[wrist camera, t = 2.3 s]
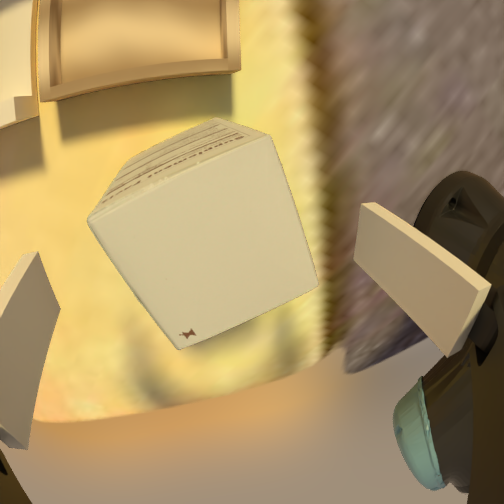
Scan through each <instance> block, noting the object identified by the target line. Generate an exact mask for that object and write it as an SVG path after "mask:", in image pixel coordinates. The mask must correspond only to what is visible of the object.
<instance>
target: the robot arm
mask: <svg viewBox="0 0 504 504" xmlns="http://www.w3.org/2000/svg"><path fill="white" fill-rule="evenodd" d="M353 260H354V261H355V262H356V263H357V264H358V265H359V266H360V267H361V268H362V269H363V270H364V271H365V272H366V273H367V274H368V275H369V276H370V277H371V278H372V279H373V280H374V281H375V282H376V283H377V284H378V285H379V286H380V287H381V288H382V289H383V290H384V291H385V292H386V293H387V294H388V295H389V296H390V297H391V298H392V299H393V300H394V301H395V302H396V303H397V304H398V305H399V306H400V307H401V308H402V309H403V310H404V311H405V312H406V313H407V314H408V316H409V317H410V318H411V319H412V320H413V321H414V322H415V323H416V324H417V325H418V326H419V327H420V328H421V329H422V330H423V332H424V333H425V334H426V335H427V336H428V337H429V338H430V339H431V340H432V341H433V342H434V343H435V344H436V346H437V347H438V348H439V349H440V350H441V351H442V352H443V354H444V356H443V357H442V358H441V359H440V360H439V361H438V363H437V364H436V365H435V366H434V367H433V368H432V369H431V370H430V371H429V372H428V373H427V374H426V375H425V376H424V377H423V376H421V377H420V378H419V379H418V382H417V383H416V384H415V385H414V387H413V388H412V389H411V390H410V391H409V392H408V393H407V394H406V395H405V396H404V397H403V398H402V399H401V400H400V401H399V402H398V403H397V405H396V407H395V410H394V413H393V427H394V432H395V436H396V439H397V443H398V446H399V448H400V451H401V453H402V456H403V458H404V460H405V462H406V463H407V465H408V467H409V469H410V470H411V472H412V473H413V475H414V476H415V478H416V479H417V480H418V481H419V482H420V483H421V484H422V485H423V486H424V487H425V488H427V489H430V490H433V491H435V490H439V489H441V488H444V487H445V486H446V485H447V484H448V483H452V484H453V485H454V486H455V487H456V488H457V490H458V491H460V492H461V493H462V494H465V495H468V501H467V504H504V198H503V196H502V195H501V194H500V193H499V192H498V191H497V190H496V189H495V188H494V187H493V186H492V185H491V184H490V183H489V182H488V181H487V180H485V179H484V178H482V177H480V176H478V175H476V174H473V173H471V172H468V171H458V172H455V173H453V174H451V175H449V176H448V177H446V178H445V179H444V180H442V181H441V182H440V183H439V184H438V185H437V186H436V188H435V189H434V190H433V191H432V193H431V194H430V195H429V197H428V198H427V200H426V202H425V203H424V205H423V207H422V209H421V211H420V213H419V216H418V218H417V221H416V224H415V227H413V226H411V225H410V224H408V223H407V222H405V221H403V220H402V219H400V218H399V217H397V216H396V215H394V214H393V213H391V212H390V211H388V210H386V209H385V208H383V207H382V206H380V205H378V204H377V203H375V202H373V203H363V204H361V207H360V215H359V223H358V231H357V238H356V245H355V252H354V258H353ZM59 312H60V306H59V304H58V302H57V299H56V297H55V295H54V292H53V290H52V287H51V285H50V282H49V280H48V277H47V275H46V272H45V269H44V267H43V264H42V261H41V258H40V256H39V253H38V251H37V252H32V253H27V254H23V255H22V256H21V258H20V259H19V261H18V262H17V264H16V265H15V267H14V268H13V270H12V271H11V273H10V274H9V276H8V278H7V279H6V281H5V282H4V284H3V286H2V287H1V289H0V440H1V441H2V442H4V443H5V444H6V445H7V446H8V447H9V448H17V449H26V450H28V445H29V437H30V430H31V424H32V418H33V413H34V407H35V402H36V397H37V392H38V388H39V383H40V379H41V375H42V371H43V367H44V363H45V359H46V355H47V352H48V348H49V344H50V341H51V338H52V334H53V331H54V328H55V324H56V321H57V318H58V315H59ZM0 504H32V503H31V501H30V500H29V498H28V496H27V495H26V493H25V492H24V490H23V489H22V487H21V485H20V483H19V482H18V480H17V478H16V476H15V475H14V473H13V471H12V469H11V468H10V466H9V464H8V462H7V460H6V458H5V456H4V454H3V453H2V451H1V450H0Z"/></svg>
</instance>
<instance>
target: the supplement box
mask: <svg viewBox="0 0 504 504" xmlns="http://www.w3.org/2000/svg"><path fill="white" fill-rule="evenodd" d="M87 223H88V226H89V228H90V230H91V231H92V233H93V234H94V236H95V237H96V239H97V241H98V242H99V244H100V245H101V247H102V248H103V250H104V251H105V253H106V254H107V256H108V257H109V259H110V260H111V262H112V263H113V265H114V266H115V268H116V269H117V271H118V272H119V273H120V275H121V276H122V278H123V279H124V280H125V282H126V283H127V285H128V286H129V288H130V289H131V291H132V292H133V294H134V295H135V297H136V298H137V300H138V301H139V302H140V303H141V304H142V306H143V307H144V308H145V309H146V311H147V312H148V313H149V315H150V316H151V317H152V319H153V320H154V321H155V322H156V324H157V325H158V326H159V327H160V329H161V330H162V331H163V333H164V334H165V335H166V336H167V338H168V339H169V340H170V341H171V343H172V344H173V345H174V347H175V348H176V349H177V350H181V349H183V348H185V347H188V346H191V345H194V344H196V343H199V342H201V341H204V340H206V339H208V338H211V337H213V336H215V335H217V334H220V333H222V332H224V331H226V330H229V329H231V328H233V327H235V326H238V325H240V324H242V323H244V322H246V321H248V320H250V319H253V318H255V317H257V316H259V315H261V314H264V313H266V312H268V311H270V310H272V309H274V308H276V307H278V306H280V305H282V304H284V303H286V302H289V301H291V300H293V299H295V298H297V297H299V296H301V295H303V294H305V293H307V292H309V291H310V290H312V289H314V288H315V287H317V286H318V285H319V282H318V278H317V274H316V271H315V267H314V263H313V260H312V256H311V253H310V250H309V247H308V243H307V240H306V237H305V234H304V230H303V227H302V224H301V221H300V218H299V215H298V212H297V208H296V205H295V202H294V199H293V196H292V193H291V190H290V187H289V185H288V182H287V179H286V176H285V173H284V170H283V167H282V164H281V162H280V159H279V156H278V154H277V151H276V148H275V146H274V143H273V140H272V137H271V136H270V135H268V134H265V133H263V132H260V131H257V130H254V129H251V128H248V127H246V126H243V125H240V124H237V123H234V122H231V121H228V120H224V119H222V118H218V117H214V118H212V119H210V120H208V121H206V122H203V123H201V124H199V125H197V126H194V127H192V128H190V129H188V130H186V131H183V132H181V133H179V134H177V135H175V136H173V137H171V138H169V139H166V140H164V141H162V142H160V143H158V144H156V145H154V146H152V147H150V148H149V149H147V150H145V151H143V152H141V153H139V154H137V155H135V156H133V157H132V158H130V159H128V161H127V162H126V163H125V165H124V166H123V167H122V168H121V170H120V171H119V172H118V174H117V175H116V177H115V178H114V180H113V181H112V183H111V184H110V186H109V187H108V189H107V190H106V192H105V193H104V195H103V197H102V198H101V200H100V201H99V203H98V204H97V206H96V207H95V208H94V210H93V211H92V212H91V213H90V214H89V216H88V218H87Z"/></svg>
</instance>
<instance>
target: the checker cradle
mask: <svg viewBox="0 0 504 504" xmlns="http://www.w3.org/2000/svg"><path fill="white" fill-rule="evenodd" d="M37 4H38V0H0V129H2V128H5V127H7V126H10V125H13V124H16V123H19V122H21V121H24V120H27V119H30V118H33V117H37V116H39V110H38V99H37V84H36V17H37Z"/></svg>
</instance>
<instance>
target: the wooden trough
mask: <svg viewBox="0 0 504 504" xmlns="http://www.w3.org/2000/svg"><path fill="white" fill-rule="evenodd" d="M240 70H241V48H240V18H239V0H40V8H39V25H38V75H39V92H40V102H52V101H59V100H63V99H66V98H70V97H74V96H78V95H82V94H86V93H90V92H94V91H99V90H103V89H108V88H113V87H118V86H124V85H129V84H135V83H141V82H148V81H155V80H163V79H171V78H180V77H190V76H202V75H218V74H232V73H235V72H237V71H240Z"/></svg>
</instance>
